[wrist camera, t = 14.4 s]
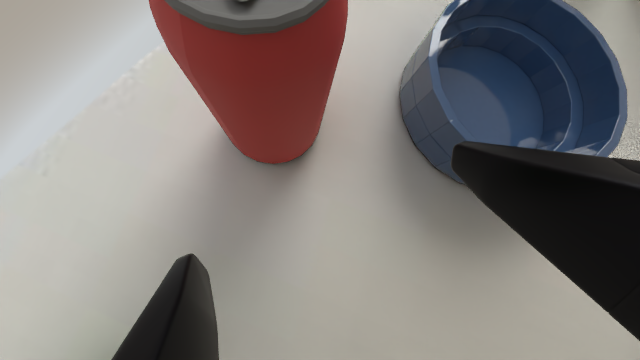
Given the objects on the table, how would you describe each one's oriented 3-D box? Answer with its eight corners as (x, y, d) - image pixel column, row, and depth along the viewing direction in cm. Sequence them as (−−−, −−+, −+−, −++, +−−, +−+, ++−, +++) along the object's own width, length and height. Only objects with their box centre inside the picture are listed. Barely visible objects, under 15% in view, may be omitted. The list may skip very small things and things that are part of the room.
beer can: (225, 165, 17) (84, 34, 6) (229, 79, 19) (122, -178, 7) (320, 166, 18) (372, 51, 6) (318, 83, 19) (359, -143, 8)
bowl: (484, 228, 19) (544, 227, 14) (363, 89, 20) (384, 49, 15) (587, 122, 21) (663, 94, 17) (476, 6, 22) (521, -48, 18)
